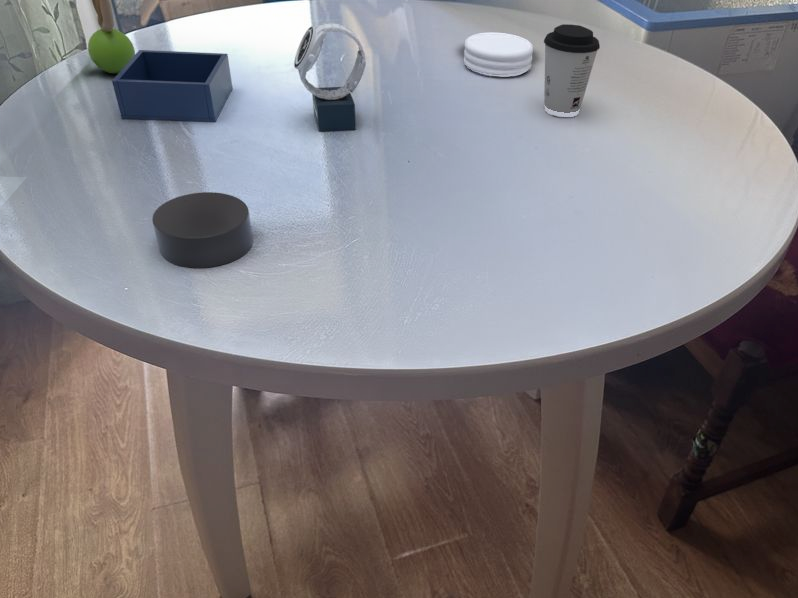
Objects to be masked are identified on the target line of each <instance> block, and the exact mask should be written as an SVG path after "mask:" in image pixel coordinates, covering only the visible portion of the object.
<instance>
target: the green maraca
mask: <svg viewBox="0 0 798 598" xmlns="http://www.w3.org/2000/svg"><path fill="white" fill-rule="evenodd" d="M91 3H92V5H93V8H94V10H95V13H96V15H97V16H96V19H97V24H98V26H99V28H100V29H97V30H96V31H94V32H93V34H92V35H91V36H90V38H89V40H88V43H87V46H88V47H87V49H88V51H87V52H88V55H89V57H90V59H91V61H92V62H93V64H94V65H95V66H96V67H97V68H99V69H100V70H102V71H103V72H105V73H108V74H115V75H118V73H119V72H120V71H121V70H122V69H123V68H124V67H125V66H126V64H127V63H128V62H129V61H130V60H131V59H132V58H133V57H134V55H135V54H136V51H135V46H134V45H133V42H132V40H131V39H130V38H129V37H128V36H127V34H125V33H124V32H122V31H120V30H118V29H115V28H114V27H115V22H114V13H113V8H112V5H111V1H110V0H91Z"/></svg>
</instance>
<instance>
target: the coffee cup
mask: <svg viewBox="0 0 798 598" xmlns="http://www.w3.org/2000/svg"><path fill="white" fill-rule="evenodd" d="M543 43H544V44H545V45H544V46H545V48H544V94H543V98H544V99H543V106H544V105H545V106H546V107H547V108H548V109H551V110H553V111H557V112H564V113H570V112H576V111H578V110H579V109H580V110H581V109H582V104H583V101H584V97H585V94H586V92H587V91H586V90H587V87H588V84H589V80H590V77H591V73H592V70H593V66H594V63H595V60H596V56H597V53H598V50H599V49H601V48H600V47H601V45H600V41H599V39H598V38H597V37H595V36H594V32H593V30H591V29H590V28H587V27H585V26H583V25H578V24H569V23H568V24H567V23H566V24H559V25H557V26H556V27H554V29H553V31H551V32H549V33H547V34H546V36H545V37H544V39H543Z"/></svg>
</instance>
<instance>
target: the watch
mask: <svg viewBox="0 0 798 598" xmlns="http://www.w3.org/2000/svg"><path fill="white" fill-rule="evenodd" d="M331 32H332V33H341V34H343V35H346V36H347V37H349V38H350V39H352V40H353V41H354V42H355V43H356V45H357V46H358V50H357V56H356V59H355V62H354V65H353V68H352V70H351V72H350V74H349V76H348V77H347V78H346V82H345V84H344V85H343V86H327V87H325V86H324V87H316V86H314V85H313V84H312V83H311V82H309V80H308V79H307V78H306V77H307V72H309V71H310V70H311V69H312V68H313V67H314V65H315V64H316V61H317V60H318V58H319V56H320V53H321V51H322V47H323V43H324V39H325V38H326V37H327V34H328V33H331ZM366 61H367V60H366V54H365V51H364V48H363V45H362V43H361V41H360V39H359V38H358V36H357V35H356V34H355V32H353V31H352V30H351V28H348V27H347V26H345V25H343V24H341V23H338V22H331V21H329V22H322V23H318V24H317V25H316V26H313V25H311V26H309V28H307V30H306V31H305V33H304V34H303V37H302V38H301V40H300V42H299V45H298V48H297V50H296V53H295V57H294V61H293V62H294V63H293V64H294V65H293V67H294V68H295V69H296V70H297V71H298V75H299V78H300V81H301V82H302V84H303V86H304V87H305V89H306V90H307V91H309V93H310V94H312V96H311V97H312V109H313V110H312V111H313V115H314V119H315V123H316V126H317V130H318V132H319V133H320V132H321V133H322V132H340V131H342V132H343V131H355V130H356V129H357V127H356V104H355V101H354V98H353V96H352V93H354V91H355V90H356V88H357V87H358V85H359V83H360V81H361V80H362V77H363V75H364V72H365V69H366V64H367V62H366Z"/></svg>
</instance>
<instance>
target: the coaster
mask: <svg viewBox="0 0 798 598" xmlns="http://www.w3.org/2000/svg"><path fill="white" fill-rule="evenodd" d="M533 52H534V45H533V44H532V43H531V41H530V40H528V39H527V38H524V37H523V36H519V35H515V34H512V33H505V32H496V31H495V32H493V31H492V32H491V31H490V32H478V33H474V34H472V35H470V36H468V37H467V38H466V39H465V41H464V51H463V55H464V57H463V65H464V66H465V65H466V66H467V67H468V68H470V69H472V70H474V71H478V72H481V73H486V74H492V75H508V74H517V73H520V72H522V71H525V70H527V69H529V68H530V67H531V68H532V61H533ZM466 66H465V67H466ZM467 67H466V68H467ZM468 68H467V69H468ZM531 68H530V69H531Z"/></svg>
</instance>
